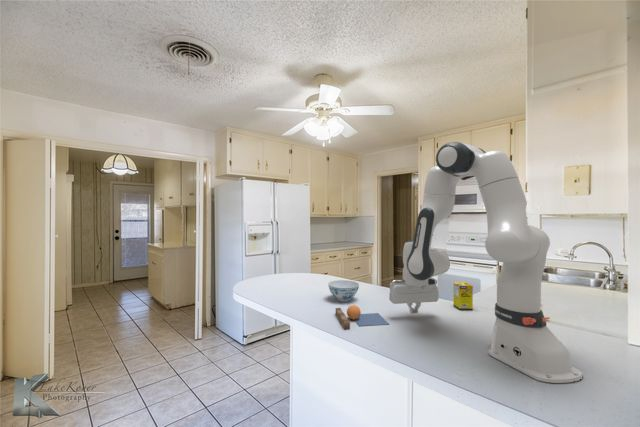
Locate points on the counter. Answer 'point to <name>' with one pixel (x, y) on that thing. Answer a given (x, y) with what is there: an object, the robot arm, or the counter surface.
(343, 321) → the bar
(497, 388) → the counter surface
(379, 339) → the counter surface
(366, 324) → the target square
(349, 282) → the chinaware
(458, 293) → the supplement box
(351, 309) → the ball
